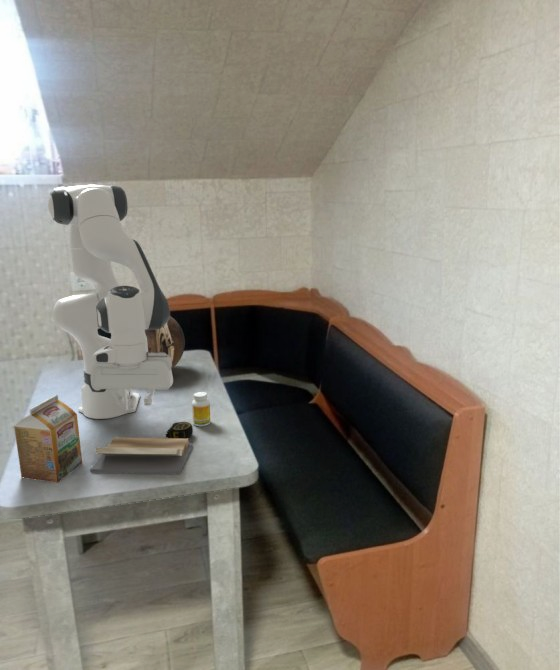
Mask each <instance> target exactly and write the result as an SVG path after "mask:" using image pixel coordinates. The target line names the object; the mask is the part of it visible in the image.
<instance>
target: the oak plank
mask: <svg viewBox="0 0 560 670" xmlns="http://www.w3.org/2000/svg"><path fill="white" fill-rule="evenodd" d="M189 443H190V442H189V438H187V439H183V438H167V437H166V438H165V437H163V438H162V437H160V438H159V437H113V439H112V440H111V441H110V442H109V444H108V445H107V447H118V448H177V449H180V450H182V455H183V454H184V452H185V450H186V448H187V446H188V444H189Z"/></svg>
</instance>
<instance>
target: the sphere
mask: <svg viewBox="0 0 560 670" xmlns="http://www.w3.org/2000/svg"><path fill="white" fill-rule="evenodd" d="M145 334H146V337H147V344H148V352H155V353H160V352H164V353H166V354H167V355H169V356H170V357H171V359H172V367H171V370H173V368H175V366H176V365H178V364H179V362H180V361H181V359H182V357H183V355H184V353H185V352H184V351H185V345H186V341H185V335H184V334H185V333H184V332H183V328H182V327H181V325H180V324H179V323H178V321H177V320H176V319H175V318H174V317H172V316H171V315H170V318H169V320H168V322H167V323H166V324H165V325H164V326H163V327H162V328H161V329H157V330H147V329H146V330H145ZM165 357H168V356H165Z"/></svg>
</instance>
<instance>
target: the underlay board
mask: <svg viewBox="0 0 560 670" xmlns="http://www.w3.org/2000/svg"><path fill="white" fill-rule="evenodd" d="M192 449H193V442H189V444H188V446H187V448H186V450H185V452H184V454H183V455H182V456H151V455H103V454H100V456H99V458H98V459H97V461H95V463H94V464H92V467H91V468H90V473H92V474H143V475H145V474H146V475H147V474H148V475H180V473H181V472H182V470H183V468H184V465H185V463H186V461H187V459H188V457H189V455H190V453H191V451H192Z"/></svg>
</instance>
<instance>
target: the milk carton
mask: <svg viewBox="0 0 560 670" xmlns="http://www.w3.org/2000/svg"><path fill="white" fill-rule="evenodd" d="M13 428H14V435H15V441H16V448H17V449H16V450H17V457H18V462H19V470H20V476H21V478H22V477H24V478H23V479H27V478H29V480H34V479H36V480H35V481H42V482H47V483H48V482H50V483H55V484H57V483H59V482H61V481H62V480H63V479H64V478H65V477H67V476H69V475H70V474H71V473H72V472H73V471H75V470H76V469H77V468H78V467H80V466H81V465H83V457H82V456H83V455H82V447H81V446H82V445H81V439H80V438H81V437H80V430H79V421H78V414H77V412H76V411H75V410H73V408H71V407H70V406H69V405H67V404H66V403H65V402H62V401H61V400H60V399H59V397H58V394H55V395H52V396H51V397H49V398H48V399H46V400H44V401H42V402H40V403H39V404H37V405H35V406H33V407H31V408H30V409H29V415H27V416H25V417H23V418H21V419H20V420H19V421H17V423H16V424H15V425H14V426H13Z"/></svg>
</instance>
